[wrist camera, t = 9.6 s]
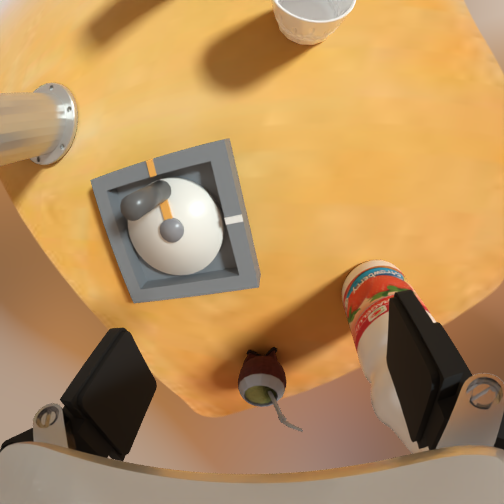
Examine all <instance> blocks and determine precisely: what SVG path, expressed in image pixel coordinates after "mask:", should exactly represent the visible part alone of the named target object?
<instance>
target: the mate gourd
mask: <svg viewBox="0 0 504 504" xmlns="http://www.w3.org/2000/svg"><path fill="white" fill-rule="evenodd" d="M276 352H277V348H275V347H273V348H272V349H271V350H270V351H269V352H268V353H267V354H266V355H265V356H261V355H259V354H257V353H256V352H254V351H252V350H248V351H247V355H248V356H247V358H246V359H245V361H244V364H243V367H242V369H241V371H240V375H239V379H238V387H239V388H238V389H239V391H240V394H241V396H242V397H243V399H244V400H245V401H247V402H248V403H249V404H252V405H254V406H260V407H263V406H270V405H272V404H273V405H274V407H275V409H276V411H277V414H278V418H279V420H280V421H281V423H283V424H285V425H286V426H288V427H290V428H293V429H296V430H298V431H301V432H302V431H303V430H302V429H301V428H299V427H296V426H294V425H292V424H290V423H289V422H287V421H286V418H285V416H284V415H283V414H282V412H281V410H280V408H279V406H278V404H277V401H278V400H279V399H280V398H281V397H282V396H283V394H284V391H285V387H286V377H285V372H284V370H283V368H282V366H281V365H280V363H279V362H278V361H277V357H276V354H275V353H276Z"/></svg>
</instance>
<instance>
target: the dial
mask: <svg viewBox="0 0 504 504" xmlns="http://www.w3.org/2000/svg"><path fill="white" fill-rule="evenodd" d="M120 209H121V213H122V214H123V216H124V217H125V218H126V219H128V231H129V235H130V239H131V241H132V244H133V246H134V248H135V249H136V251H137V252H138V254H139V255H140V256H141V257H142V259H143V260H144V261H146V262H147V263H148V264H149V265H151V266H152V267H153V268H155V269H157V270H159V271H161V272H164V273H167V274H172V275H188V274H193V273H196V272H198V271H200V270H202V269H204V268H205V267H206V266H208V265H209V264H210V263H211V262H212V261H213V259H214V258H215V257H216V255H217V253H218V251H219V249H220V247H221V245H222V242H223V238H224V219H223V215H222V212H221V209H220V207H219V205H218V203H217V202H216V200H215V199H214V197H213V196H212V195H211V194H210V193H209V192H208V191H207V190H206V189H205V188H204V187H202V186H201V185H199V184H197V183H196V182H194V181H191V180H188V179H185V178H180V177H168V178H163V179H160V180H157V181H155V182H153V183H151V184H149V185H147V186H145V187H143V188H141V189H139V190H137V191H135V192H133V193H131V194H129V195H127V196H125V197H124V198H123V199H122V201H121V204H120Z"/></svg>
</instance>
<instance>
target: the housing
mask: <svg viewBox="0 0 504 504" xmlns="http://www.w3.org/2000/svg"><path fill="white" fill-rule="evenodd" d="M168 177H180V178H185V179H188V180H191V181H194V182H196V183H197V184H199V185H201V186H202V187H204V188H205V189H206V190H207V191H208V192H209V193H210V194H211V195H212V196H213V197H214V199H215V200H216V202H217V203H218V205H219V207H220V209H221V212H222V215H223V219H224V238H223V242H222V245H221V247H220V249H219V251H218V253H217V255H216V257H215V258H214V259H213V261H212V262H211V263H210V264H209V265H208V266H206V267H205V268H204V269H202V270H200V271H198V272H196V273H193V274H188V275H172V274H167V273H164V272H161V271H159V270H157V269H155V268H153V267H152V266H151V265H149V264H148V263H147V262H146V261H144V260H143V259H142V257H141V256H140V255H139V254H138V252H137V251H136V249H135V248H134V246H133V244H132V241H131V239H130V235H129V231H128V219H126V218H125V217H124V216H123V214H122V213H121V209H120V204H121V201H122V199H123V198H124V197H125V196H127V195H129V194H131V193H133V192H135V191H137V190H139V189H141V188H143V187H145V186H147V185H149V184H151V183H153V182H155V181H157V180H160V179H163V178H168ZM90 181H91V184H92V188H93V191H94V195H95V198H96V201H97V204H98V208H99V211H100V214H101V217H102V220H103V223H104V226H105V229H106V232H107V235H108V238H109V241H110V244H111V247H112V249H113V252H114V255H115V258H116V260H117V263H118V265H119V268H120V271H121V273H122V276H123V278H124V281H125V283H126V286H127V288H128V291H129V293H130V295H131V298H132V300H133V303H141V302H150V301H159V300H167V299H175V298H183V297H191V296H199V295H207V294H214V293H222V292H229V291H236V290H243V289H250V288H257V287H259V283H260V275H261V274H260V269H259V265H258V261H257V256H256V252H255V247H254V243H253V239H252V234H251V230H250V225H249V221H248V217H247V212H246V208H245V204H244V199H243V195H242V191H241V186H240V182H239V178H238V173H237V169H236V165H235V160H234V156H233V152H232V147H231V143H230V139H224V140H219V141H215V142H211V143H207V144H203V145H199V146H196V147H192V148H188V149H185V150H181V151H177V152H174V153H170V154H167V155H164V156H160V157H157V158H154V159H150V160H147V161H144V162H141V163H138V164H135V165H132V166H129V167H126V168H123V169H120V170H117V171H114V172H111V173H109V174H106V175H103V176H100V177H98V178H95V179H92V180H90Z"/></svg>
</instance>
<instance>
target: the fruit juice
mask: <svg viewBox="0 0 504 504" xmlns="http://www.w3.org/2000/svg"><path fill="white" fill-rule="evenodd" d="M409 289H411V290H412V291H413V292H414V294H415V295H416V297H417V298H418V300H419V301H420V303H421V304H422V306H423V307H424V309H425V310H426V312H427V313H428V315H429V316H430V318H431V319H432V321H433V323H436V321H435V319H434V318H433V316H432V315H431V314H430V312H429V311H428V309H427V308H426V306H425V305H424V303H423V302H422V300H421V299H420V297H419V296H418V295H417V293H416V292H415V290H414V289H413V287H412V286H411V285H410V283H409V282H408V280H407V279H406V278H405V276H404V275H403V274H402V272H401V271H400V270H399V269H398V268H397V267H396V266H395V265H393V264H392V263H390V262H387V261H384V260H371V261H367V262H364V263H362V264H360V265H359V266H357V267H356V268H354V269H353V270H352V271H351V272H350V274H349V275H348V276H347V278H346V279H345V282H344V284H343V288H342V302H343V306H344V309H345V313H346V316H347V319H348V323H349V326H350V329H351V333H352V336H353V340H354V343H355V347H356V350H357V354H358V358H359V362H360V365H361V368H362V370H363V372H364V374H365V377H366V378H367V380H368V381H369V382H370V383H371V402H372V406H373V409H374V411H375V414H376V415H377V417H378V418H379V420H380V421H381V422H383V423H384V424H385V425H387V426H388V427H390V428H391V429H392V430H393V431H394V432H395V433H396V435H397V436H398V437H399V438H400V439H401V441H402V442H403V443H404V444H405V446H406V447H407V448H408V449H409V450H410V452H411V453H412V454H414V453H418V452H423V451H428V450H429V448H428V447H425V448H421V449H419V448H418V444H417V441H416V442H412V441H411V438H410V435H409V432H408V428H407V425H406V422H405V418H404V415H403V412H402V409H401V405H400V402H399V399H398V396H397V393H396V390H395V387H394V384H393V381H392V378H391V375H390V372H389V370H388V367H387V361H386V354H387V340H388V320H389V299H390V298H392V297H394V293H395V292H400V291H404V290H409Z"/></svg>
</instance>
